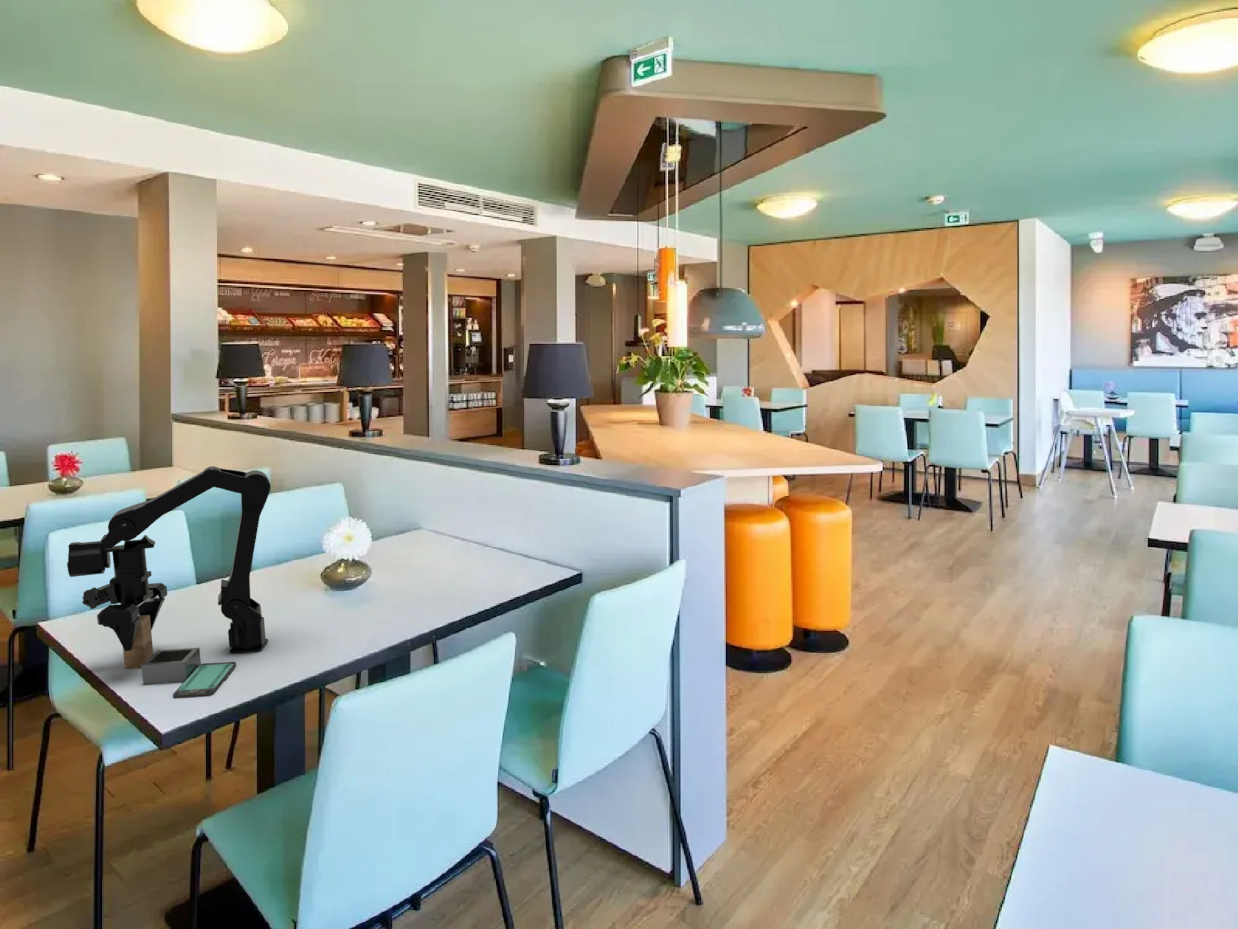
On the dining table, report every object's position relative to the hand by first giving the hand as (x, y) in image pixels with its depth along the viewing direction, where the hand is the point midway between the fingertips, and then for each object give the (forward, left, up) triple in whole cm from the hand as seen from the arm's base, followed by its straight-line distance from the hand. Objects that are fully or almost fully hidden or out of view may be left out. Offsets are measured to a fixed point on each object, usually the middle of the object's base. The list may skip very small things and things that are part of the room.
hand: (138, 642), depth 162 cm
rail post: (0, 0, -5) cm, 5 cm away
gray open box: (-9, +7, -5) cm, 12 cm away
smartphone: (-17, +11, -5) cm, 21 cm away
